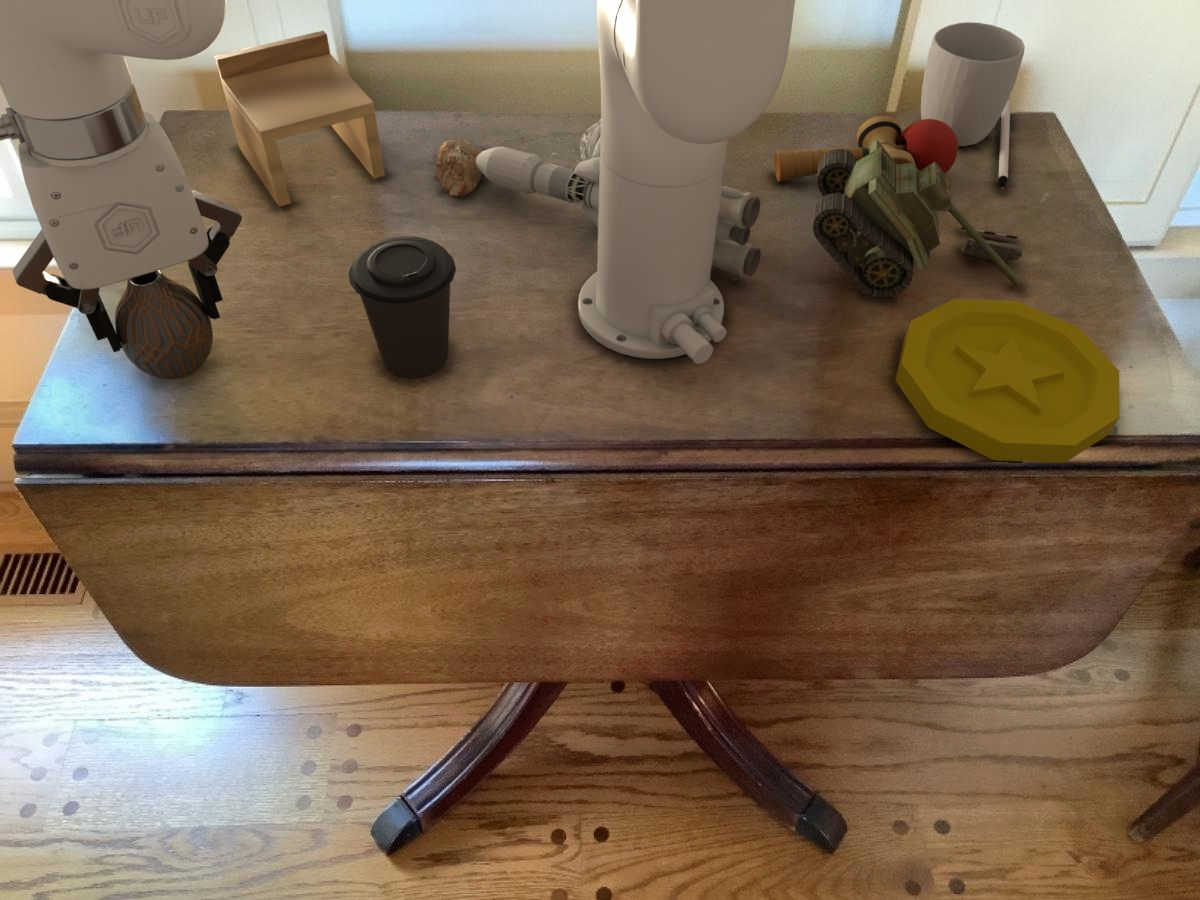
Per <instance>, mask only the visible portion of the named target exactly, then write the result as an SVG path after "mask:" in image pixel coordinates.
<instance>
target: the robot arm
mask: <svg viewBox="0 0 1200 900" xmlns="http://www.w3.org/2000/svg"><path fill="white" fill-rule="evenodd" d="M227 4H228V0H0V89H1V92H2V93H3V95H4V98H5V100H6V102H7V104H8V107H6V108H5V107H4V109H5V111H6V113H3V114H0V141H1V142H2V141H5V140H9V139H11V141H14V140H18V141H19V143H18V155H19V163H20V167H21V172H22V177H23V180H24V184H25V187H26V190H27V193H28V196H29V199H30V202H31V205H32V208H33V211H34V213H35V215H36V218H37V220H38V223H39V225H40V228H41V230H40V231H39V232H38V233H37V235H36V236H35V238H34V239H33V240H32V242H31V243H30V245H29V247H28V248H27V249H26V251H25V252H24V253H23V255H22V256H21V257H20V258H19V260H18V261H17V263H16V264H15V266H14V267H13V268H12V275H13V278H14V280H15V283H16V284H17V286H18V287H21V288H24V289H27V290H29V291H31V292H34V293H37V294H38V295H43V296H46V297H47V298H48V299H49V300H51V301H54V302H56V303H60V304H62V305H66V306H69V307H72V308H74V309H77V310H78V312H79V313H80V314H82V315H85V317H86V319H87V321H88V323H89V325H90V327H91V329H92V332H93V334H94V336H95V338H96V340H97V341H101V340H104V339H107V341H108V343H109V345H110V347H111V349H112V352H113V353H117V352H119V351H121V349H122V345H121V343H120V341H119V338H118V336H117V334H116V328H115V327H114V325H113V323H112V321H111V317H110V316H109V314H108V312H107V311H108V310H107V309H106V306H105V304H104V302H103V300H102V297H101V295H100V289H101V288H104V287H107V286H110V285H111V286H112V285H115V284H118V283H121V282H124V281H128V279H131V278H134V277H138V276H141V275H144V274H148V273H151V272H154V271H157V270H159V271H160V270H164V269H166V268H171V267H173V266H176V265H177V266H178V265H180V264H183V263H186V262H187V266H188V269H189V272H190V275H191V278H192V280H193V284H194V287H195V289H196V292H197V295H198V298H199V300H200V301H201V302H202V304H203V305H204V307H205V309H206V311H207V313H208V315H209V318H210V320H211V319H213V320H217V319H220V318H221V316H220V312H219V310H218V307H217V304H216V303H219V302H222V301H223V300H224V299H223V296H222V292H221V290H220V286H219V284H218V280H217V278H216V274H217V273H218V264H219V262H220V260H222V257H223V256H224V255H225V253H226V251H227V250H228V248H229V247H230V244H231V242H230V240H231V238H232V237H234V234H235V233H236V231H237V229H238V227H239V226H240V224H241V222H242V220H243V217H242V214H241V212H240V211H239V210H238V208H237V207H236V206H235V205H234V204H231V203H228V202H226V201H224V200H220V199H219V198H215V197H213V196H210V195H207V194H204V193H202V192H199V191H196V190H195V189H194V190H193V189H192V188H191V186H190V183H189V180H188V178H187V176H186V173H185V171H184V168H183V165H182V163H181V161H180V159H179V157H178V155H177V152H176V151H175V149H174V146H173V145H172V143H171V141H170V139H169V137H168V136H167V134H166V132H165V130H164V128H163V127H162V126H161V124H160V123H159V122H158V120H157V119H156V118H155V117H154V116H153V115H152V114H151V113H149V112H147V111H145V110H143V107H142V104H141V101H140V98H139V95H138V92H137V89H136V86H135V83H134V80H133V78H132V74H131V72H130V69H129V66H128V63H127V60H126V57H130V58H138V59H147V60H155V61H156V60H157V61H158V60H159V61H172V60H175V61H176V60H182V59H187V58H191V57H194V56H197V55H198V54H200V53H202V52H204V51H205V50H207V49H208V48H209V47H210V46H211V45H212V44H213V43H214V41H216V39H217V38H218V36H219V35H220V32H221V30H222V28H223V25H224V22H225V17H226V10H227ZM795 4H796V0H596V24H597V42H598V43H597V45H598V57H599V73H600V74H599V77H600V119H601V121H600V122H601V147H600V171H599V217H598V227H597V262H596V264H597V265H596V266H597V267H596V268H597V269H596V271H595V272H594V273H593V274H592V275H591V276H589V277H588V278H587V279H586V281H585V282H584V284H583V285H582V286H581V289H580V292H579V295H578V300H577V301H578V302H577V303H578V304H577V305H578V306H577V307H578V317H579V320H580V322H581V325H582V326H583V328H584V329H585V331H586V332H587V333H588V335H589V336H591V337H592V338H593V339H594V340H595V341H596V342H597V343H599V344H601V345H602V346H603V347H605V348H607V349H609V350H612V351H614V352H616V353H619V354H622V355H625V356H629V357H632V358H640V359H648V360H652V359H653V360H660V359H661V360H662V359H670V358H676V357H677V358H678V357H680V356H683V355H686V356H687V357H688V358H689V359H691V360H692V362H693V363H695V364H697V365H701V364H704V363H706V362H707V361H708V360H709V359H710V358H711V356H712V355H713V353H714V346H713V344H711V343H710V342H711V341H713V342H715V343H719V342H721V341H723V340H724V339H725V337H726V336H727V334H728V330H727V329H726V327H724V325H722V324H723V319H724V315H725V302H724V298H723V295H722V293H721V291H720V290H719V287H718V286H717V285H716V284H715V283H714V282H713V281H712V280H711V273H712V267H713V266H712V259H713V251H714V243H715V236H716V228H717V220H718V212H719V205H720V197H721V189H722V185H723V181H724V174H725V173H724V172H725V165H726V160H727V152H728V145H729V140H730V139H732V138H734V137H736V136H738V135H740V134H741V133H743V132H744V131H746V130H747V129H749V128H750V127H751V126H752V125H753V124H754V123H755V122H756V121H758V119H759V118H760V117H761V116H762V115H763V113H765V111H766V109H767V108H768V107H769V105H770V104H771V102H772V100H773V99H774V97H775V95H776V93H777V91H778V89H779V86H780V84H781V81H782V78H783V75H784V71H785V67H786V64H787V60H788V54H789V50H790V49H789V48H790V43H791V36H792V28H793V20H794V15H795V14H794V13H795ZM203 217H204V218H207V219H209V220H213V223H212V224H213V225H212V226H210V227H209V228H208V230H206V226H205V223H204V220H203ZM53 259H54V261H55V263H56V265H57V267H58V269H59V271H60V273H61V274H62V276H60V275H57V274H49V273H47V272H46V271H45V270H46V269H47V267H48V266H49V264H50V263H51V262H52V261H53Z"/></svg>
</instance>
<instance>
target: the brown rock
mask: <svg viewBox="0 0 1200 900" xmlns="http://www.w3.org/2000/svg"><path fill="white" fill-rule="evenodd" d="M483 151H485V150H484V149H483V148H481V147H479V146H477V145H475V144H472V143H470V142H469V141H468V140H458V139H456V138H453V140H446V141H444V142H443V143H442V144H441V145H440V146H439V148H438V152H437V161H436V168H438V169H439V171H438V172H437V176H438V179H439V183H440V186H442V188H443V189H444V191H445V192H447V193H448V194H449V195H450V196H452V197H454V196H456V197H462V196H466V195H469V194H470V193H472V192H473V191H474V190H475V189H476V187H477V186H478V183H480V179H481V176H482V174H483V173H482V172H481V171H480V170H479V169H478V166H477V163H476V158H477V156H478V155H479V154H480V153H481V152H483Z"/></svg>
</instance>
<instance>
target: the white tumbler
mask: <svg viewBox="0 0 1200 900" xmlns="http://www.w3.org/2000/svg"><path fill="white" fill-rule="evenodd" d="M1025 49H1026V48H1025V44H1024V41H1023V40H1022V38H1020V37H1019V36H1018V35H1016V34H1014V33H1013V32H1012V31H1009V30H1007V29H1005V28H1003V27H999V26H996V25H992V24H988V23H983V22H969V21H966V22H957V23H953V24H948V25H947V26H944V27H942V28H940V29H939V30H937V31H936V32H935V34H934V36H933V37H932V40H931V43H930V46H929V50H928V54H927V59H926V63H925V69H924V73H923V79H922V85H921V94H920V95H921V97H920V120H923V119H935V120H939V121H941V122H944V123H945V124H947V125H948V126H949V127H950V128H951V129H952V130H953V131H954V133H955V135H956V138H957V142H958V147H968V146H972V145H976V144H979V143H981V142H983V140H984V139H985V138H987V136H988V135H990V133H991V132H992V130H993V129H994V128H995V126H996V124H997V123H998V121H999V119H1000V118H1001V114H1002V112H1003V110H1004V108H1005V106H1006V103H1007V101H1008V99H1009V98H1010V96H1011V93H1012V91H1013V89H1014V87H1015V84H1016V81H1017V79H1018V75H1019V71H1020V68H1021V64H1022V62H1023V58H1024V54H1025Z"/></svg>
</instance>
